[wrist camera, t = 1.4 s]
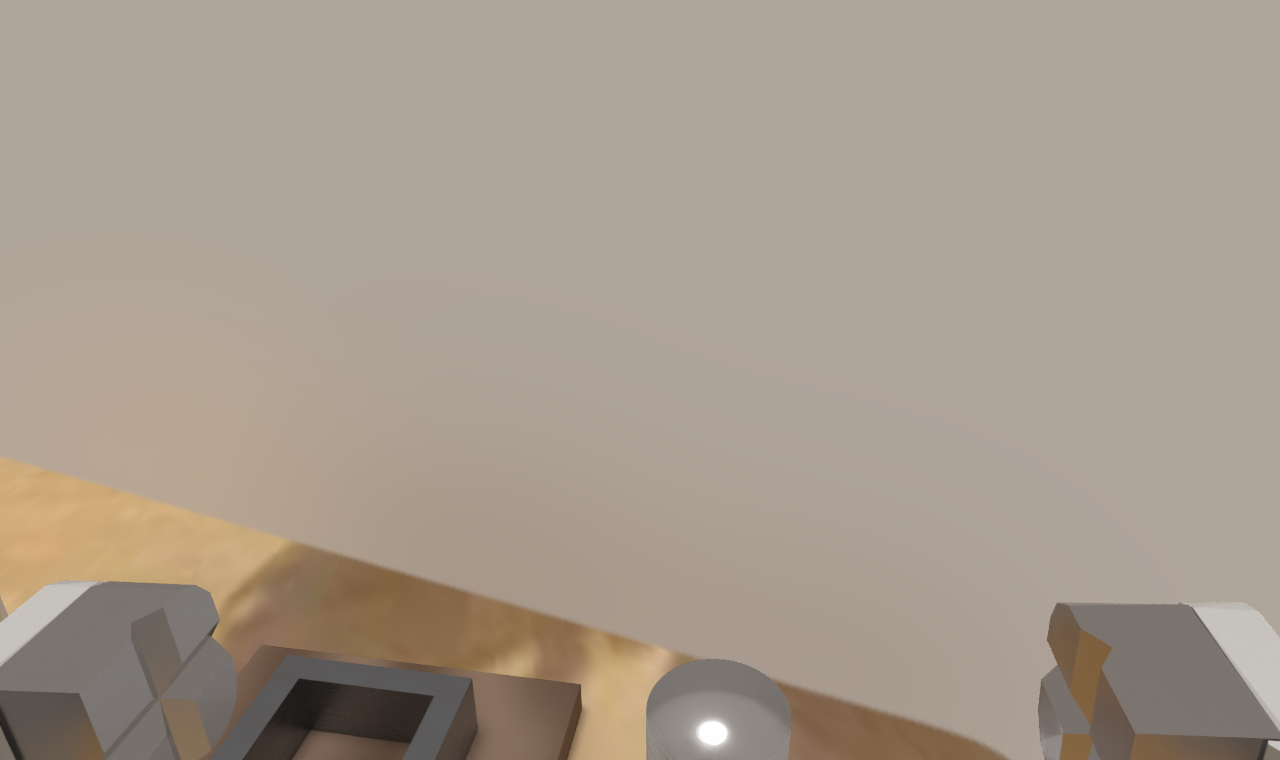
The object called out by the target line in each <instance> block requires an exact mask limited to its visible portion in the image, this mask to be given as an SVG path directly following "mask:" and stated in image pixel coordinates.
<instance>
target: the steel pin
mask: <svg viewBox="0 0 1280 760" xmlns="http://www.w3.org/2000/svg"><path fill="white" fill-rule="evenodd" d="M791 721H792V719H791V711H790V706H789V704H788V701H787V699H786V697H785V695H784V694H783V692H782V691H781V689H780V688H779V687H778V686H777V685H776V684H775V683H774V682H773V681H772V680H771V679H770V678H769V677H767V676H766V675H765V674H763V673H761V672H760V671H758V670H756V669H754V668H752V667H750V666H747V665H745V664H742V663H738V662H734V661H729V660H720V659H706V660H698V661H693V662H689V663H686V664H683V665H681V666H679V667H677V668H674V669H673V670H671V671H670V672H668V673H667V674H665V675H664V676H663V677H662V678H661V679H660V680H659V681H658V682H657V683H656V685H655V686H654V688H653V689H652V691H651V693H650V695H649V698H648V702H647V709H646V747H647V760H788V752H789V742H790V732H791Z"/></svg>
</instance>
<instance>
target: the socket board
mask: <svg viewBox="0 0 1280 760" xmlns="http://www.w3.org/2000/svg"><path fill="white" fill-rule="evenodd" d="M287 655H293V656H301V657H309V658H317V659H325V660H333V661H340V662H348V663H356V664H364V665H372V666H380V667H388V668H396V669H404V670H412V671H420V672H428V673H436V674H444V675H452V676H460V677H468V678H472V681H473V690H474V698H475V706H476V715H477V723H478V732H477V734H476V736H475V739H474V741H473V743H472V746H471V748H470V751H469V753H468V755H467V758H466V760H567V756H568V753H569V750H570V746H571V743H572V740H573V736H574V733H575V729H576V726H577V723H578V719H579V716H580V713H581V709H582V703H581V684H574V683H566V682H558V681H550V680H541V679H533V678H525V677H517V676H509V675H501V674H493V673H485V672H477V671H469V670H461V669H453V668H445V667H437V666H429V665H421V664H413V663H405V662H396V661H388V660H380V659H372V658H364V657H356V656H348V655H340V654H332V653H324V652H316V651H308V650H300V649H292V648H284V647H276V646H268V645H261V647H260V648H259V649H258V650H257V652H256V653H255V654H254V656H253V657H252V658H251V659H250V661H249V662H248V663H247V665H246V666H245V667H244V668H243V670H242V671H241V672H240V673H239V675H238V676H237V699H236V703H235V706H234V709H233V712H232V716H231V719H230V722H229V725H228V728H227V729H226V731H225V732H224V733H223V735H222V736H221V738H220V739H219V741H218V742H217V744H216V745H215V747H214V748H213V750H212V751H210V752H209V753H207V754H205V755H204V756H202V757H201V758H199V759H198V760H210V759H211V758H212V757H213V755H214V754H215V752H216V751H217V750H218V748H219V747H220V746H221V744H222V743H223V742H224V740H225V739H226V738H227V736H228V735H229V733H230V732H231V731H232V729H233V728H234V727H235V725H236V724H237V723H238V721H239V720H240V719H241V717H242V716H243V714H244V713H245V712H246V710H247V709H248V708H249V706H250V705H251V704H252V702H253V701H254V700H255V698H256V697H257V695H258V694H259V693H260V691H261V690H262V689H263V687H264V686H265V685H266V683H267V682H268V681H269V679H270V678H271V676H272V675H273V674H274V672H275V671H276V670H277V668H278V667H279V666H280V664H281V663H282V662H283V660H284V659H285V657H286V656H287ZM409 746H410V744H408V743H401V742H393V741H386V740H379V739H372V738H365V737H357V736H350V735H343V734H336V733H329V732H321V731H314V730H311V731H310V732H309V734H308V735H307V737H306V739H305V740H304V742H303V743H302V745H301V747H300V748H299V750H298V751H297V753H296V754H295V756H294V758H293V759H292V760H403V758H404V756H405V754H406V752H407V750H408V748H409Z"/></svg>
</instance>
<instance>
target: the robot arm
mask: <svg viewBox="0 0 1280 760" xmlns="http://www.w3.org/2000/svg"><path fill="white" fill-rule="evenodd" d="M219 620H220V618H219V616H218V613H217V610H216V608H215V605H214V602H213V599H212V597H211V594H210V592H208V591H206V590H204V589H202V588H200V587H198V586H196V585H180V584H157V583H134V582H111V581H109V582H100V581H67V580H65V581H61V582H57V583H53V584H49V585H46V586H44V587H43V588H42V589H41V590H39V591H38V592H37V593H36V594H35V595H33V596H32V597H31V598H30V599H29V600H27V601H26V602H25V603H24V604H22V605H21V606H20V607H19V608H18V609H16V610H15V611H14V612H13V613H11V614H10V615H9V616H8V617H7V618H5V619H4V620H3V621H2V622H0V760H198V759H199V758H201V757H202V756H204V755H205V754H207V753H209V752H210V751H212V750H213V748H214V747H215V745H216V744H217V742H218V741H219V739H220V738H221V736H222V735H223V733H224V732H225V731H226V729H227V728H228V725H229V722H230V719H231V716H232V712H233V709H234V706H235V703H236V699H237V674H236V670H235V667H234V664H233V660H232V657H231V654H230V653H229V652H227V651H226V650H225V649H224V648H223V647H222V646H221V645H220V644H219V643H218V642H217V641H216V640H215V639H214V638H213V637H211V636H212V634H213V632H214V630H215V628H216V626H217V624H218V622H219ZM1047 641H1048V643H1049V646H1050V648H1051V650H1052V652H1053V655H1054V657H1055V659H1056V661H1057V664H1058V665H1057V666H1056V667H1055V668H1053V669H1052V670H1051V671H1050V672H1049V673H1048V674H1047V675H1046V676H1045V677H1044V678H1043V679H1041V688H1040V697H1039V707H1038V714H1039V728H1040V741H1041V746H1042V750H1043V754H1044V758H1045V760H1280V637H1279V636H1278V635H1277V633H1276V632H1275V631H1274V630H1273V629H1272V628H1271V626H1270V625H1269V624H1268V623H1267V621H1266V620H1265V619H1264V618H1263V617H1262V616H1261V614H1260V613H1259V612H1258V611H1257V610H1256V609H1255V608H1253V607H1251V606H1249V605H1247V604H1245V603H1243V602H1182V603H1181V602H1180V603H1179V604H1178V605H1173V604H1172V605H1169V604H1108V603H1107V604H1106V603H1103V604H1102V603H1057V604H1056V606H1055V608H1054V611H1053V613H1052V615H1051V618H1050V624H1049V631H1048V637H1047Z"/></svg>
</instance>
